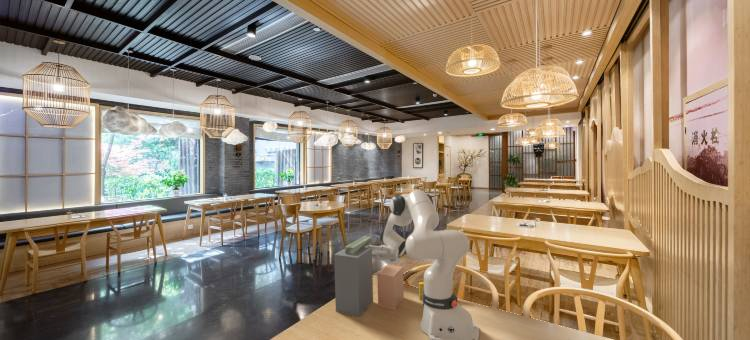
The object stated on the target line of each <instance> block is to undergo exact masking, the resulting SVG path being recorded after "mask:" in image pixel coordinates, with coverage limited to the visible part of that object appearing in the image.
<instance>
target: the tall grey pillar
mask: <svg viewBox="0 0 750 340" xmlns="http://www.w3.org/2000/svg"><path fill="white" fill-rule="evenodd" d="M333 256H334V257H333V260H334V261H333V262H334V263H333V265H334V286H335V287H334V295H335V312H337V313H341V314H346V315H349V316H353V317H357V318H359V317H361V316H362V315H363V314H364V313H365V312H366V310H367V309H368V308H369V307H370V306H372V304H373V303H374V284H373V282H374V279H373V277H374V275H373V254H372V248H366V247H364V248H362V249H361V250H359V251H358V252H356V253H355V254H346V253H345V248H343V249H341V250H340V251H338V252H335V253H334V254H333Z"/></svg>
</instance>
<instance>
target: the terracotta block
mask: <svg viewBox="0 0 750 340" xmlns="http://www.w3.org/2000/svg"><path fill="white" fill-rule="evenodd" d="M376 275H377V277H376V278H377V306H378V307H379V308H382V309H388V310H391V311H395V310H396V309H397V307H398V306H399V305H400V303H401V302H402V301H403V299H404V296H405V295H404V293H405V291H404V266H401V265H396V264H393V265H390V264H386V265H385V266H384V267H383V268H382V269H381V270H380V271H379V272H378V273H376Z"/></svg>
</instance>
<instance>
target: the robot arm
mask: <svg viewBox="0 0 750 340" xmlns="http://www.w3.org/2000/svg"><path fill="white" fill-rule="evenodd" d="M389 209H390V213H389V214H388V215H387V217H386V220H385V222H384V225H383V228H382V230H381V232H380V234H379V240H380V242H381V243H383V244H381V245H371V244H369V245H367V246H366V248H372V255H375V256H376V258H377V259H378V260H379V261H381V262H383V263H385V264H386V265H388V264H390V265H396V264H397V263H398V262H399V261H400V260H399V259H400V258H402V257H403V256H404V254H405V253H406V254H407V256H408V257H409V258H410V259H411V260H413V261H423V262H427V261H434V262H433V264H431V265H430V266H429V267H427V268H426V269H425V271H424V272H423V282H424V291H423V300H422V305H423V312H422V317H421V318H422V319H421V322H420V329H421V331H423V333H425V334H426V335H427V336H428V338H429V340H479V339H480V329H479V326H478V325H477V324H476V323H475V322H473V317H472V315H471V313H470V312H469V311H468V310H467V309H465V308H464V307H463V306H462V305H460V304H459V302H458V294H454V292H453V293H452V282H453V279H454V273H455V269H456V267H457V265H458V263H459V262H460V260H461V259H462V258H463V257H464V256H465V255H467V253H468V252H469V249H470V241H469V238H468V236H467V235H466V233H465V232H463V231H462V230H457V229H456V230H454V229H446V230H445V229H444V230H443V229H441V230H435V229H436V228H437V227H438V225H439V223H440V215H439V213H438V212H437V209H436V208H435V206H434V199H433V197H432V196H431V195H430V194H429V193H426V192H425V191H424V190H422V189H414V190H413V191H412V190H411V192H409V193H402V194H395V195H393V196H392V197H391V198H390V202H389ZM412 222H413V225H414V227H413V228H414V229H413V231H412V232H411V233H410V234H409V235H408V236H407V238H406V239H405V238H403V237H402V236H401V235H400V234H398V233H397V232H396V231H395V230H394V226H395V225H396V226H398V227H406V226H408V225H410V224H411V223H412Z"/></svg>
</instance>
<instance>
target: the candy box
mask: <svg viewBox="0 0 750 340" xmlns="http://www.w3.org/2000/svg"><path fill="white" fill-rule="evenodd" d="M418 289H419V290H418V291H419V292H418V299H419V300H420V301H423V291H424V281H420V282H418ZM452 293H453V294H454V283H453V281H452Z"/></svg>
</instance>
